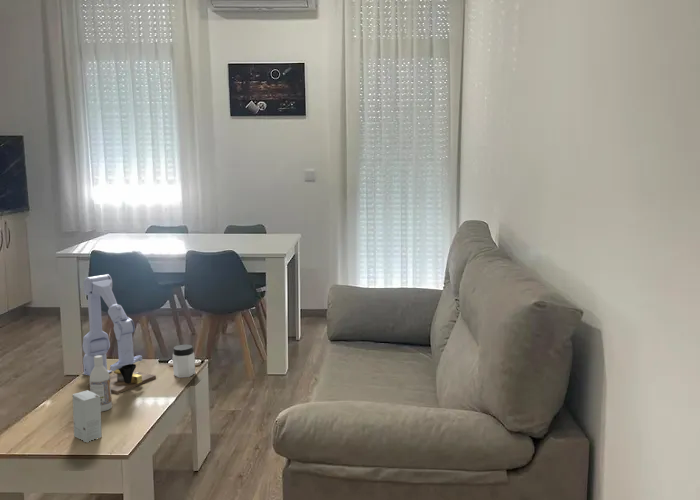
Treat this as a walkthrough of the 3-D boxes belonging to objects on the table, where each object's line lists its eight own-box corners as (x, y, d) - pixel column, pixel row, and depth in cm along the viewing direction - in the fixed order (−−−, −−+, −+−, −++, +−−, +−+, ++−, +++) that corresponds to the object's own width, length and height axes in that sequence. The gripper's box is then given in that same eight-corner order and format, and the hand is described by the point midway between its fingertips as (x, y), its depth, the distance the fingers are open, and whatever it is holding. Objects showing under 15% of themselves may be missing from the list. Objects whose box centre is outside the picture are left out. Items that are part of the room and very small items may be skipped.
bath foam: (113, 410, 241) (109, 357, 238) (92, 413, 238) (88, 360, 235) (111, 403, 247) (107, 352, 244) (91, 407, 244) (87, 355, 241)
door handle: (111, 380, 268) (110, 369, 267) (122, 375, 273) (122, 365, 272) (134, 385, 262) (133, 374, 261) (145, 380, 267) (144, 369, 266)
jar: (198, 375, 277) (196, 347, 275) (180, 379, 272) (178, 351, 270) (188, 369, 284) (187, 342, 282) (171, 374, 279) (169, 346, 277)
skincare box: (73, 436, 219) (70, 394, 216) (90, 430, 223) (87, 389, 221) (86, 443, 213) (83, 400, 211) (103, 437, 218) (100, 394, 215)
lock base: (88, 386, 265) (87, 376, 264) (127, 372, 282) (126, 362, 281) (117, 394, 257) (117, 383, 256) (155, 378, 274) (155, 368, 273)
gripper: (118, 356, 252) (120, 390, 254) (146, 346, 264) (148, 378, 266) (105, 353, 255) (108, 387, 257) (134, 344, 268) (136, 375, 270)
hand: (127, 382), depth 262 cm, fingers closed
